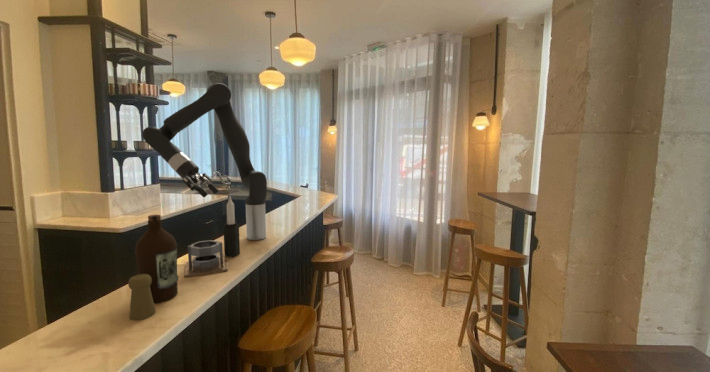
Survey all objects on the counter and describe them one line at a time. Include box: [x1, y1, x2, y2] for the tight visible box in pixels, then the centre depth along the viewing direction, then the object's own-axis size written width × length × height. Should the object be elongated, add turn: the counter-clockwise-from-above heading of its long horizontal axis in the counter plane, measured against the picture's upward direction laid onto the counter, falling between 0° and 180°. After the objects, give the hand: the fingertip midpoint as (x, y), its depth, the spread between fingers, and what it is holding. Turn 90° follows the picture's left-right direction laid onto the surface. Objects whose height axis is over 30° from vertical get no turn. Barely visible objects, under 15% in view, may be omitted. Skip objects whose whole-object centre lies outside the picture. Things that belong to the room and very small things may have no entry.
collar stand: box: [183, 239, 228, 278], centre depth 120 cm, size 14×14×9 cm
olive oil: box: [134, 214, 179, 304], centre depth 96 cm, size 11×11×25 cm
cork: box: [127, 273, 157, 321], centre depth 86 cm, size 6×6×11 cm
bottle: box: [222, 195, 241, 258], centre depth 133 cm, size 5×5×25 cm
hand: (211, 194), depth 132 cm, fingers open, 8 cm apart
